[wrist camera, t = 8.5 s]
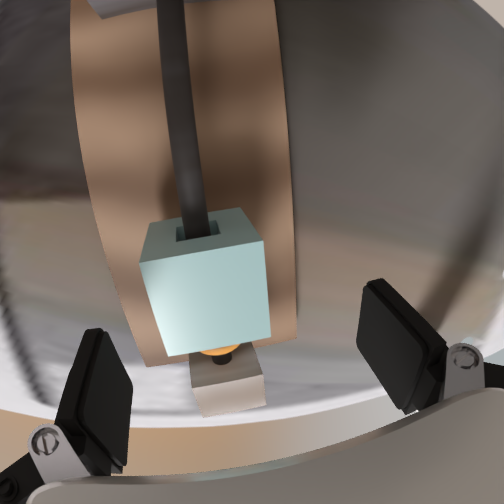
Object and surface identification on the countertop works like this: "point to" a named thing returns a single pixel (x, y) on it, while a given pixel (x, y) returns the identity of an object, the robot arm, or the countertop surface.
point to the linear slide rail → (187, 156)
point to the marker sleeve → (206, 283)
